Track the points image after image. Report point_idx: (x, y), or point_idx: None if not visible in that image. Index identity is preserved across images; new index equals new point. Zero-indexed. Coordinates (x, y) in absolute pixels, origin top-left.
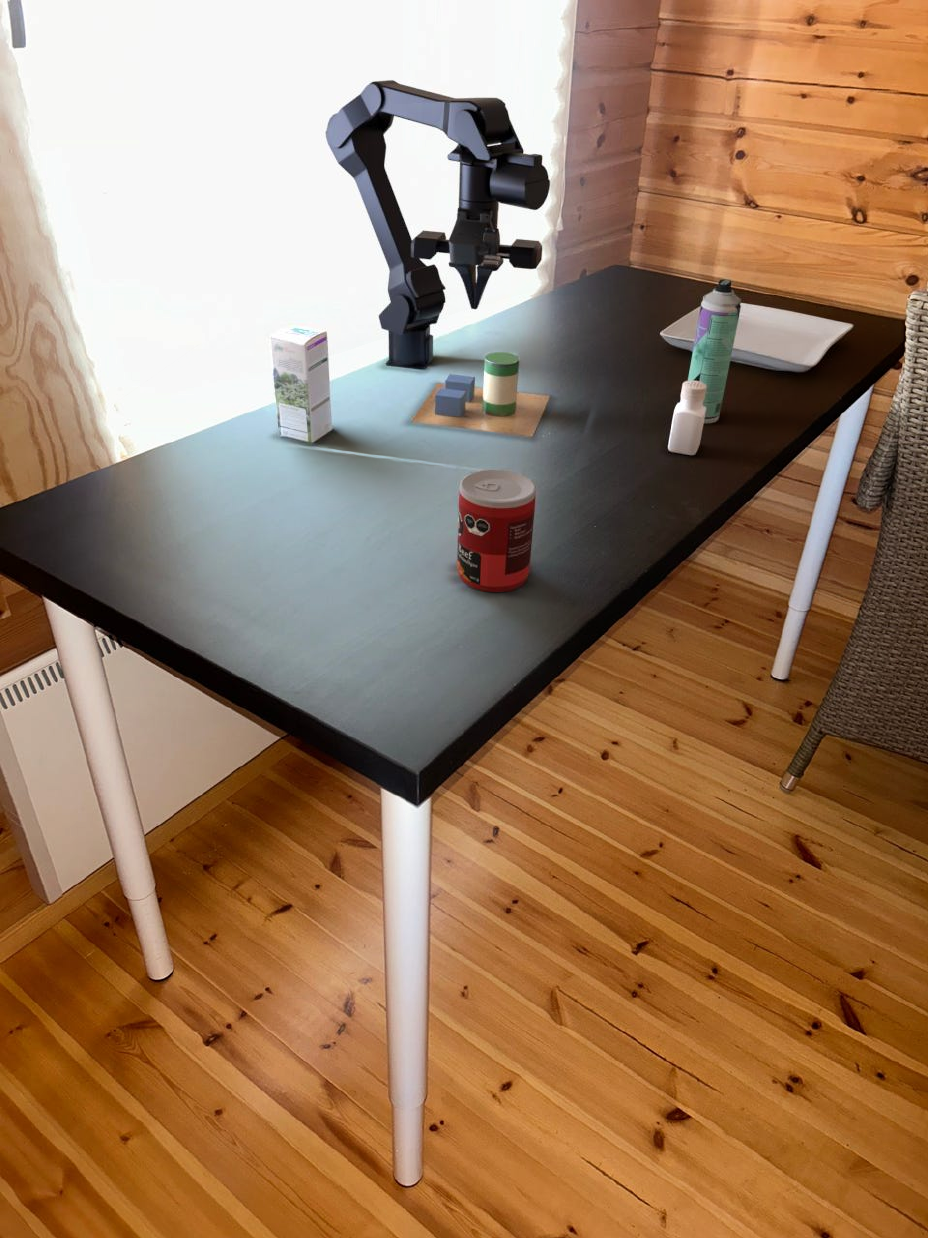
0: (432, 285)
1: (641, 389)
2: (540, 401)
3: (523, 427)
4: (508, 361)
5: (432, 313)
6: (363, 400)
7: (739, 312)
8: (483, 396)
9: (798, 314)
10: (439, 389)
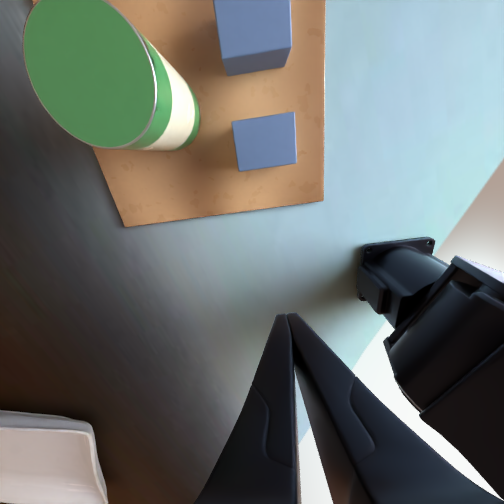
0: (479, 411)
1: (42, 310)
2: (124, 195)
3: None
4: (48, 45)
5: (411, 330)
6: (463, 36)
7: None
8: (183, 80)
9: (10, 500)
10: (289, 30)
